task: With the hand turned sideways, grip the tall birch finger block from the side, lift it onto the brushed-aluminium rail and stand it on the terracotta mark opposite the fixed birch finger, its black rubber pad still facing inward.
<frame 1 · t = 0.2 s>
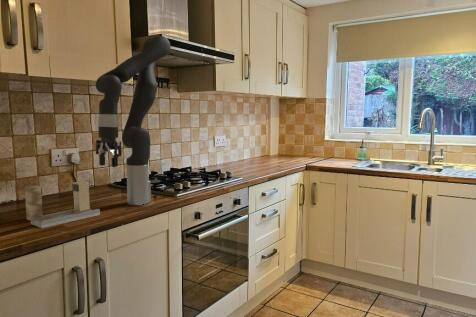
hand: (108, 166, 150), 18 cm above the table, tool pointing down, fingers open, 8 cm apart
finger block: (34, 218, 138), on the table
rail: (67, 219, 137), on the table
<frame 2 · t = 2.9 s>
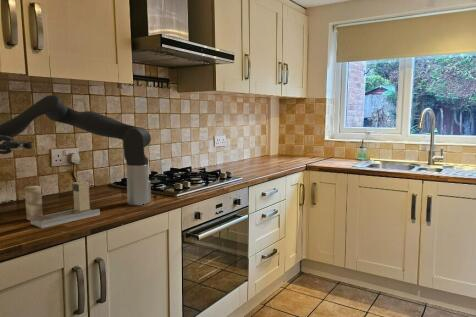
hand: (18, 146, 141), 26 cm above the table, tool horizontal, fingers open, 8 cm apart
nothing on the table moved.
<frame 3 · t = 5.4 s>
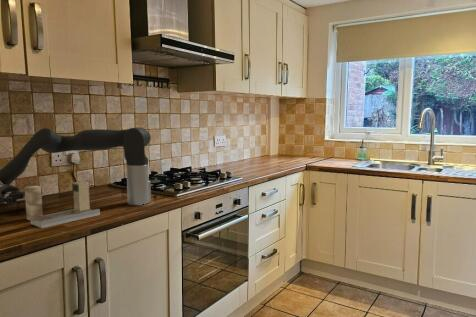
hand: (24, 199, 142), 6 cm above the table, tool horizontal, fingers open, 8 cm apart
nothing on the table moved.
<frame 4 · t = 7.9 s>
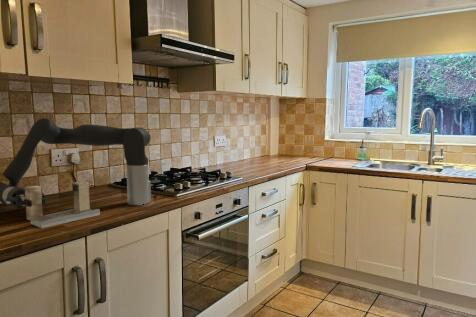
hand: (37, 202, 135), 7 cm above the table, tool horizontal, fingers closed on finger block, 4 cm apart
finger block: (34, 218, 138), on the table, touching gripper
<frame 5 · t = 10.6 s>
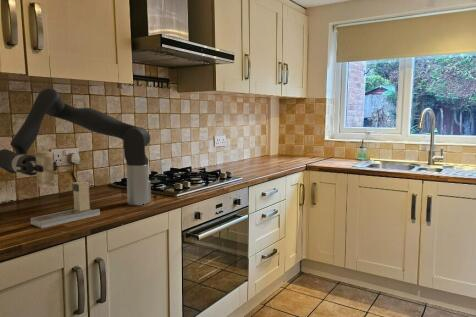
hand: (48, 168, 129), 20 cm above the table, tool horizontal, fingers closed on finger block, 4 cm apart
finger block: (46, 186, 131), point 13 cm above the table, touching gripper
when the fingers open (8 cm above the table, at t = 13.3 s): finger block stays where it is, resting on rail.
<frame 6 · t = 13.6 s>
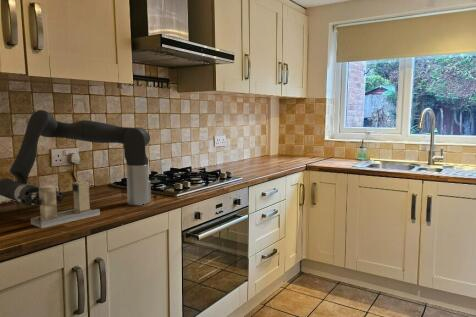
hand: (51, 200, 130), 8 cm above the table, tool horizontal, fingers open, 6 cm apart
finger block: (49, 220, 132), point 1 cm above the table, touching rail
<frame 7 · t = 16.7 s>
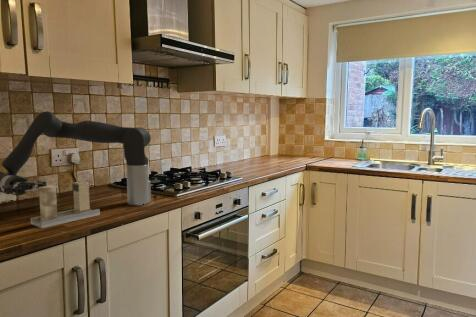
hand: (33, 189, 138), 11 cm above the table, tool horizontal, fingers open, 8 cm apart
nothing on the table moved.
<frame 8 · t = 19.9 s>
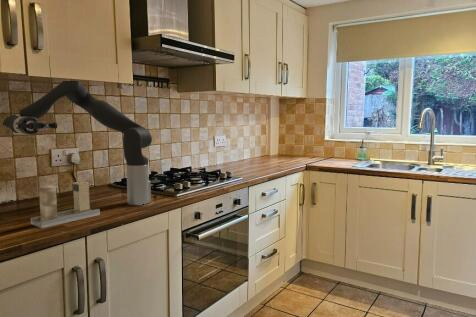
hand: (45, 126, 147), 34 cm above the table, tool horizontal, fingers open, 8 cm apart
nothing on the table moved.
at the end: finger block 0.0 cm from the target spot on the rail, point 1.1 cm above the rail's base; finger block tilted 0°; the gripper is holding nothing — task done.
